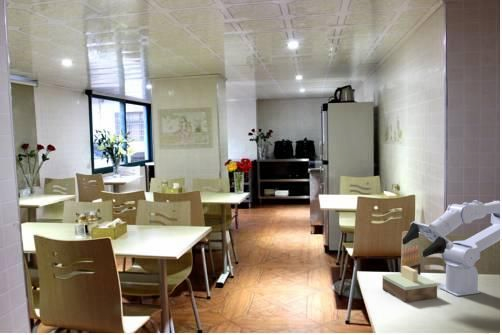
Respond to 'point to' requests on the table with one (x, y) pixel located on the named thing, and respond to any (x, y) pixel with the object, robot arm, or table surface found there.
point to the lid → (409, 279)
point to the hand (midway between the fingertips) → (413, 248)
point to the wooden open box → (410, 292)
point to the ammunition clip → (411, 258)
